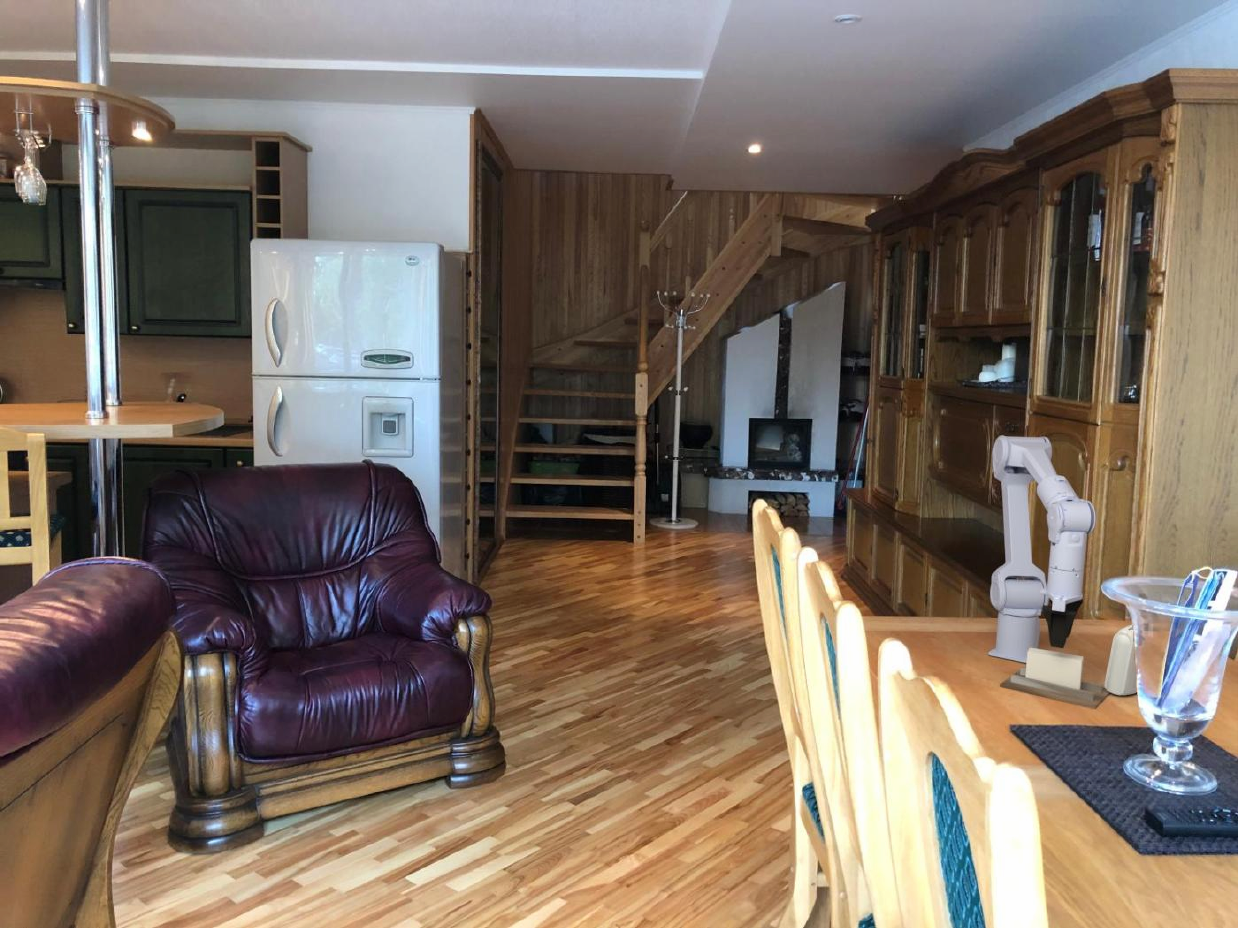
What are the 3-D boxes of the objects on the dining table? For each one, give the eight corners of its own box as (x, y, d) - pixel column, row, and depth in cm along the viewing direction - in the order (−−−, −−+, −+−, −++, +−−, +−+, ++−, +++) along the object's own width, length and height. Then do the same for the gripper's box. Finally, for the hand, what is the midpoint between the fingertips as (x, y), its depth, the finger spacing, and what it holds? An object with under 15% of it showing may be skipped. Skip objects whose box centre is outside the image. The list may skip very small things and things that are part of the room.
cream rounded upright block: (1130, 681, 181) (1142, 617, 179) (1153, 690, 178) (1166, 625, 176) (1099, 689, 176) (1111, 623, 173) (1122, 698, 172) (1135, 631, 170)
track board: (1020, 670, 186) (1021, 662, 186) (1112, 691, 176) (1112, 682, 176) (999, 686, 177) (1000, 677, 177) (1094, 708, 167) (1095, 699, 167)
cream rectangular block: (1027, 678, 181) (1029, 647, 180) (1080, 688, 176) (1083, 656, 175) (1024, 683, 178) (1027, 651, 177) (1079, 693, 173) (1081, 660, 173)
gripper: (1047, 557, 182) (1041, 628, 184) (1036, 571, 170) (1029, 647, 172) (1089, 562, 179) (1082, 634, 180) (1080, 577, 166) (1073, 655, 168)
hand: (1059, 641), depth 176 cm, fingers open, 7 cm apart
